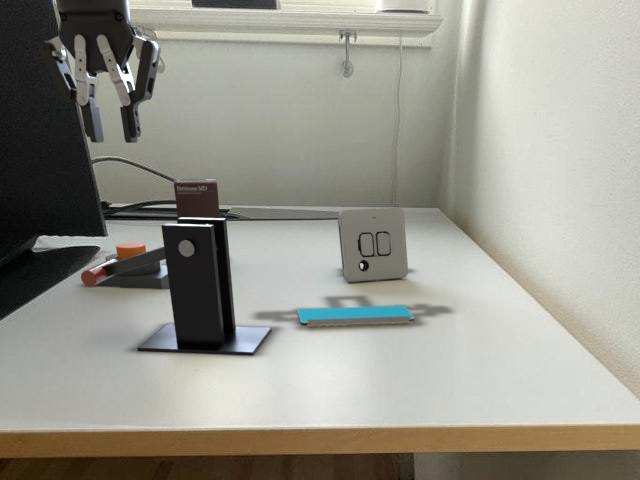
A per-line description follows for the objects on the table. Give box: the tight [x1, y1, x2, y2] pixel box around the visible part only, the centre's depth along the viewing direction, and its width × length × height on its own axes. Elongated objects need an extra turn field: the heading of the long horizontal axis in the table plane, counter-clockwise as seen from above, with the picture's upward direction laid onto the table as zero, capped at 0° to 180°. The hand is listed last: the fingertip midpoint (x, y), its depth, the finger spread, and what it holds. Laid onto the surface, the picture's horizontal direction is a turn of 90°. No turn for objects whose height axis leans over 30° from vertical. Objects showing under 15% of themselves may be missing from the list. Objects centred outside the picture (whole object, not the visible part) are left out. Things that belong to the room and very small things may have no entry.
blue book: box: [297, 305, 415, 328], centre depth 74 cm, size 20×12×2 cm, turn 99°
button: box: [115, 242, 147, 259], centre depth 85 cm, size 4×4×2 cm
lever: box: [80, 223, 219, 288], centre depth 61 cm, size 12×6×2 cm, turn 84°
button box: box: [93, 252, 170, 290], centre depth 86 cm, size 10×8×4 cm
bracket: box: [136, 217, 273, 357], centre depth 62 cm, size 11×8×12 cm
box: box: [173, 178, 221, 219], centre depth 95 cm, size 6×4×12 cm
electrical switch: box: [337, 207, 409, 283], centre depth 92 cm, size 9×5×9 cm, turn 110°
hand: (114, 141), depth 79 cm, fingers open, 3 cm apart
